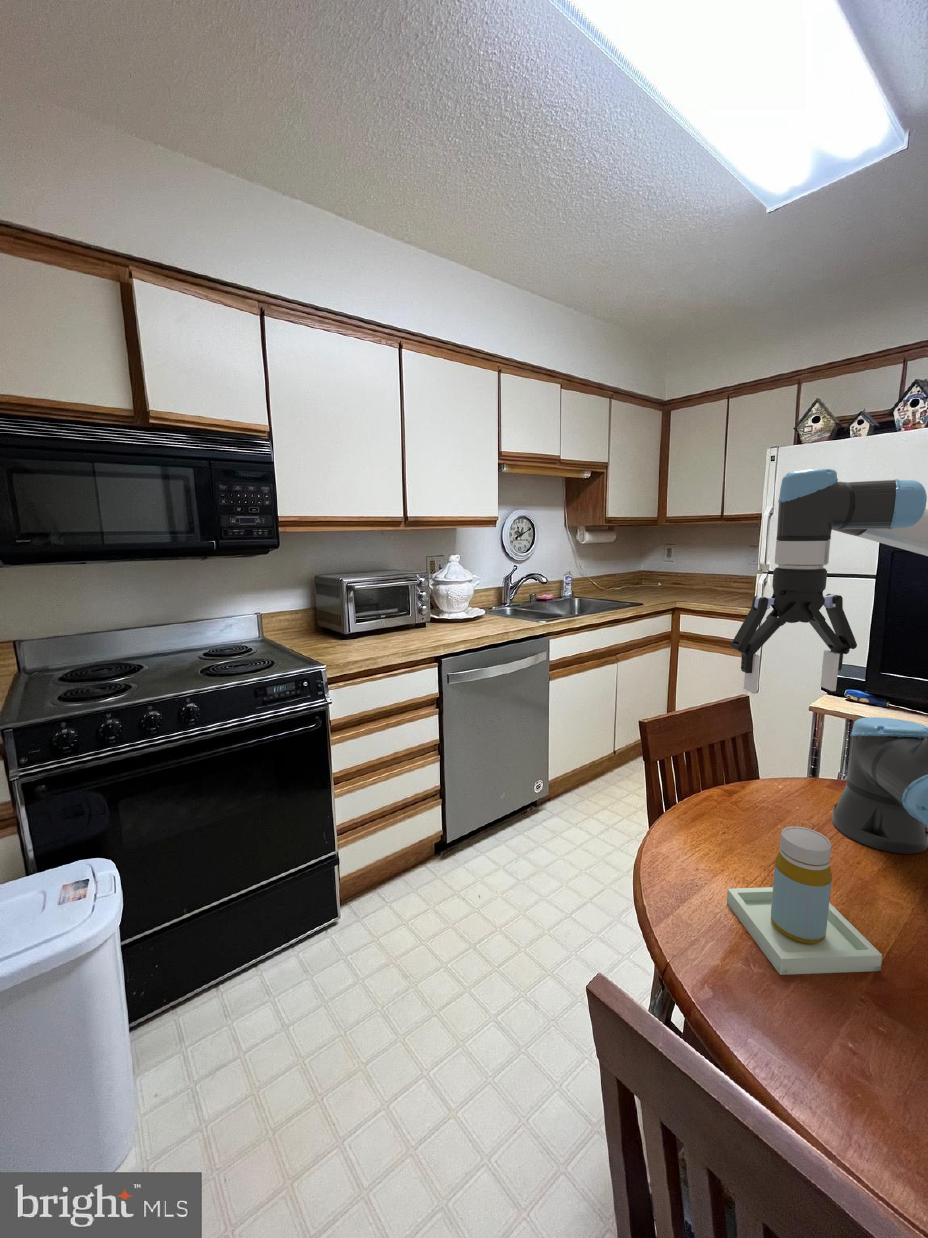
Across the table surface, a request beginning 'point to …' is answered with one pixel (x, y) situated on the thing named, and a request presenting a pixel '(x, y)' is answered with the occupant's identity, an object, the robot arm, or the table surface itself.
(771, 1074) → the table surface
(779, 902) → the bottle
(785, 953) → the pale green square tray
